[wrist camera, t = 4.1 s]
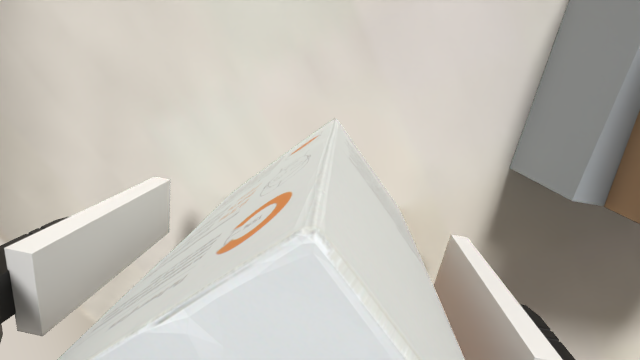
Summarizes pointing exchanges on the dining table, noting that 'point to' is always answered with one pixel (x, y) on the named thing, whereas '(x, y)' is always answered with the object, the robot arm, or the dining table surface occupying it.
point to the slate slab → (584, 102)
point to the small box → (286, 275)
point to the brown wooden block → (627, 180)
